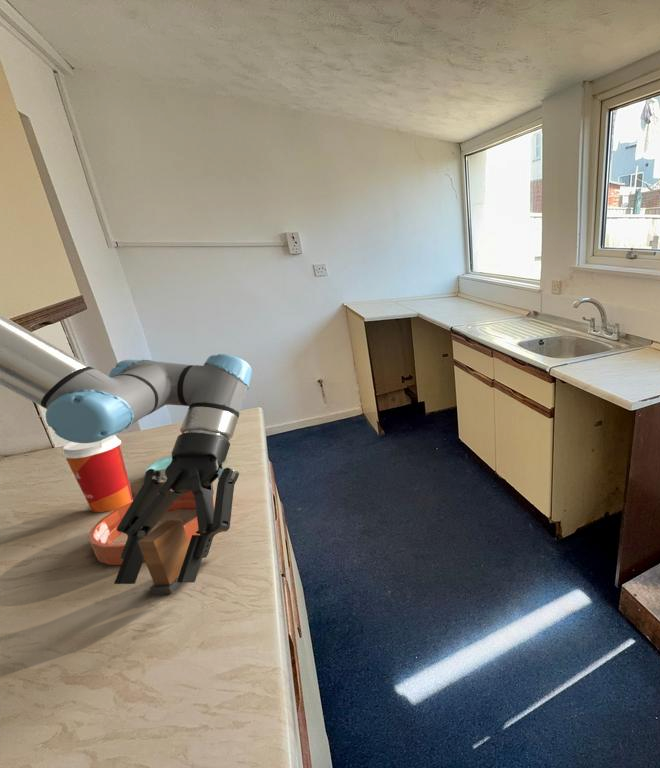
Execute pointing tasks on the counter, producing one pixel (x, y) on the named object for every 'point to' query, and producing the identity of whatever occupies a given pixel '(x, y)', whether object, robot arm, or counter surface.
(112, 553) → the bowl
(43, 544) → the counter surface
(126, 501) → the coffee cup
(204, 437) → the robot arm
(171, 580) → the eraser
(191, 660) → the counter surface
